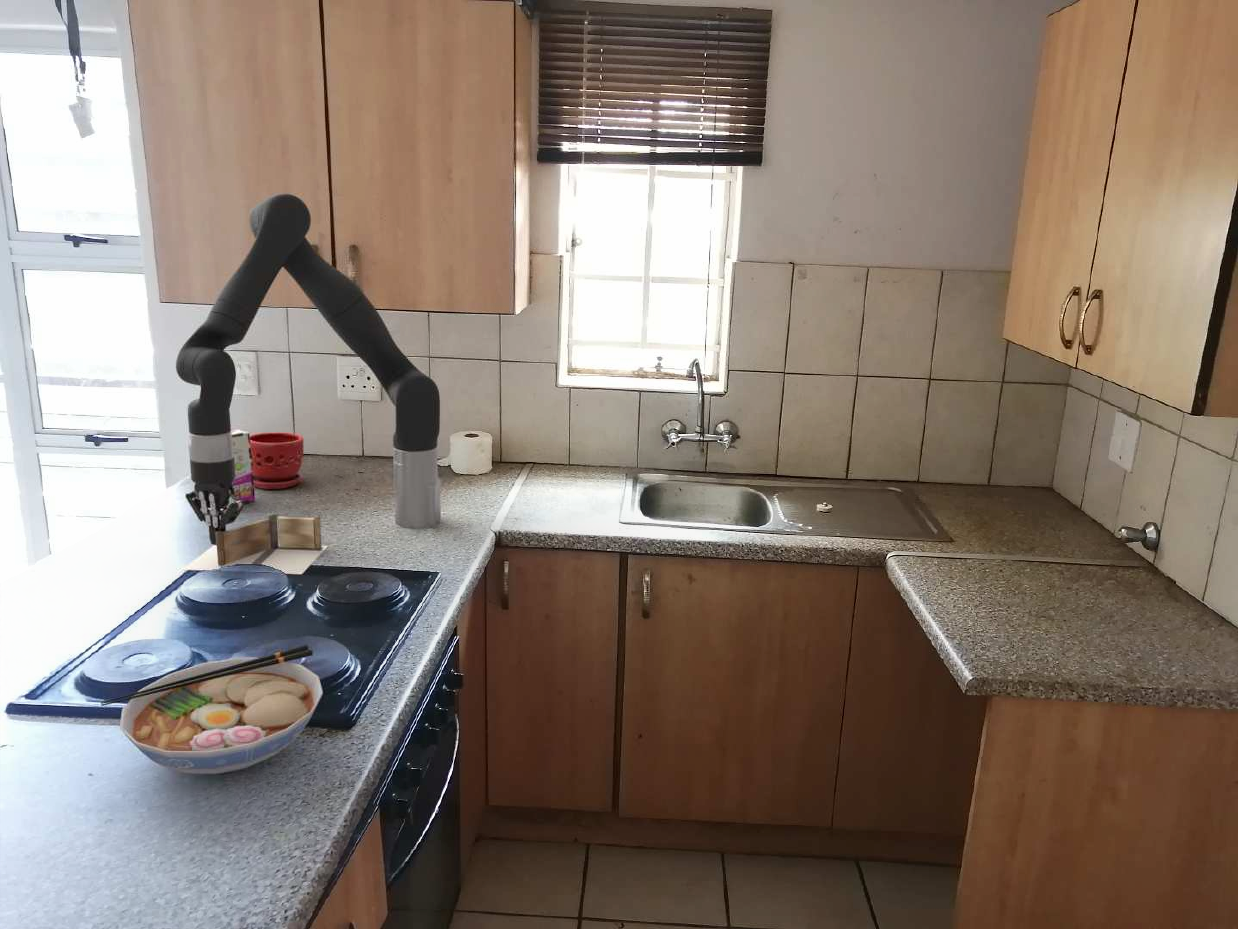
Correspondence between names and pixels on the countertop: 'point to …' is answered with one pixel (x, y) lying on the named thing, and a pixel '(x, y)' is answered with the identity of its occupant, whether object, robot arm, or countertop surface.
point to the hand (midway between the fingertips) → (218, 543)
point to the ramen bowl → (222, 712)
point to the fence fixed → (295, 532)
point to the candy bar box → (243, 466)
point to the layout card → (263, 559)
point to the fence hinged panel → (243, 541)
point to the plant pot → (276, 459)
